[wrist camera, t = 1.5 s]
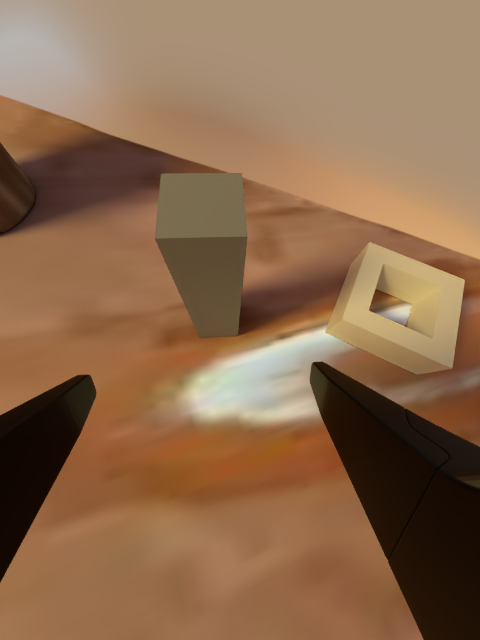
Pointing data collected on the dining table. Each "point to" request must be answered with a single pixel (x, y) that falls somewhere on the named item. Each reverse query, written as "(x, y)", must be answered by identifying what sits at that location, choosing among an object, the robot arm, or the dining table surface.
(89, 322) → the dining table surface
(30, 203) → the plant pot
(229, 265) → the post
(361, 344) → the collar
